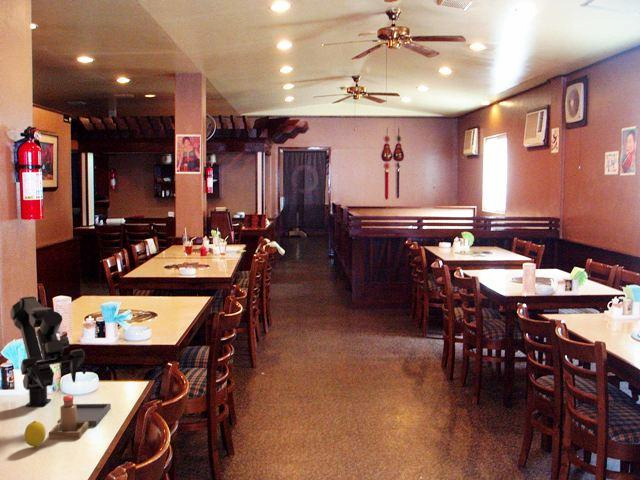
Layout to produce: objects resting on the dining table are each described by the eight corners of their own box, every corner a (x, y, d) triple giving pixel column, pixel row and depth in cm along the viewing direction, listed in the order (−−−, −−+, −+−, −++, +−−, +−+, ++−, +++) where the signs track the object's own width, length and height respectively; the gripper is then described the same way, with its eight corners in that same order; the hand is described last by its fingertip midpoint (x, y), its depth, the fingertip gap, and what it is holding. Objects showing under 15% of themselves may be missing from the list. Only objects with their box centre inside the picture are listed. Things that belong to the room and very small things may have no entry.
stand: (59, 428, 196) (59, 421, 196) (88, 427, 196) (88, 421, 196) (48, 439, 187) (48, 432, 187) (79, 438, 188) (79, 432, 187)
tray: (74, 409, 213) (74, 404, 213) (110, 408, 213) (110, 403, 213) (57, 426, 197) (57, 421, 197) (96, 426, 198) (96, 420, 197)
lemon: (37, 452, 178) (37, 425, 177) (20, 450, 179) (19, 423, 178) (49, 444, 183) (49, 418, 183) (33, 443, 184) (32, 416, 184)
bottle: (64, 430, 194) (63, 394, 193) (79, 430, 194) (78, 394, 193) (58, 436, 189) (57, 399, 188) (74, 436, 190) (73, 399, 189)
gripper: (20, 334, 194) (30, 378, 186) (82, 325, 205) (93, 366, 197) (16, 352, 201) (26, 396, 194) (76, 342, 212) (87, 383, 205)
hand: (59, 384), depth 197 cm, fingers open, 9 cm apart
